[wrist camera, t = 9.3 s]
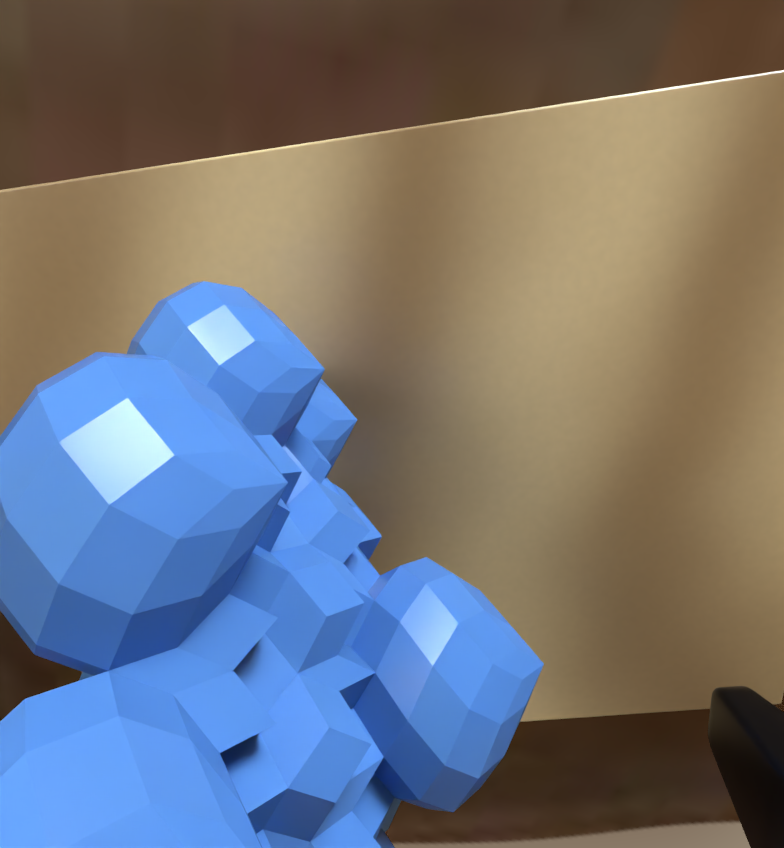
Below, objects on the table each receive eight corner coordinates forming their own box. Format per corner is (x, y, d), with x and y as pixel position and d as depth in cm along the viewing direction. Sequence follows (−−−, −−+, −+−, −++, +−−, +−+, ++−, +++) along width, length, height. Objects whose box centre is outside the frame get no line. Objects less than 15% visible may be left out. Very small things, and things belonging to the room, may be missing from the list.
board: (837, 68, 11) (895, 51, 10) (752, 663, 17) (782, 704, 16) (-72, 207, 13) (-129, 209, 12) (137, 709, 19) (115, 750, 18)
